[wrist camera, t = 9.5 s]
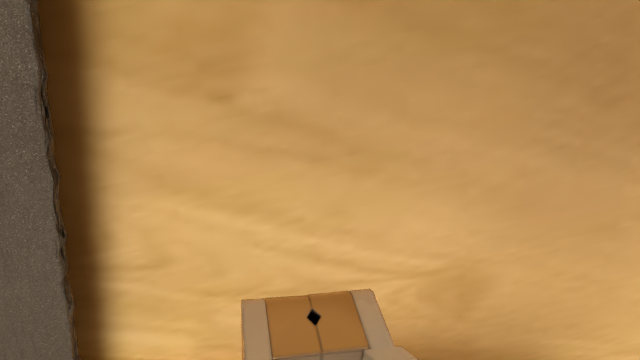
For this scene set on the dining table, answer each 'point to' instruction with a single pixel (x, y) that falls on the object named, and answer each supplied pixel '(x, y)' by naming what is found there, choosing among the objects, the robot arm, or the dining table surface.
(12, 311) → the serving tray
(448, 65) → the dining table surface
